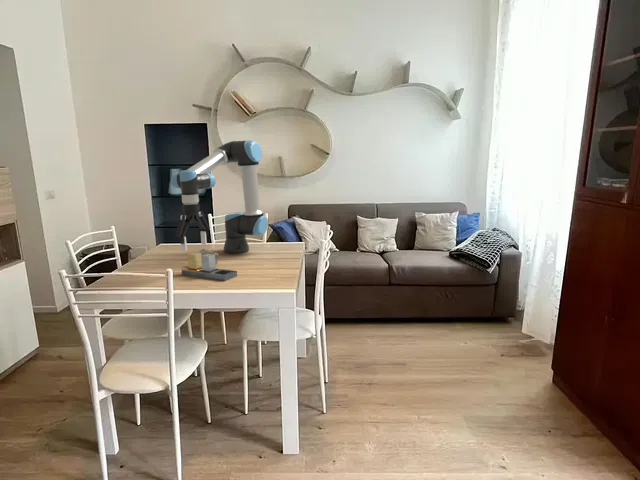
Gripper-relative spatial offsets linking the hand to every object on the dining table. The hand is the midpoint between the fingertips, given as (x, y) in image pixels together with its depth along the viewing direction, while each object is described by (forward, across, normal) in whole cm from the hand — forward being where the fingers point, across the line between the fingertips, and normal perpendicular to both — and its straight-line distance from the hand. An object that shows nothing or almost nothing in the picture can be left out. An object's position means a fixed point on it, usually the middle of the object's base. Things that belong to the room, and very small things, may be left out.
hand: (194, 247), depth 202 cm
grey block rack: (+13, +1, +8) cm, 15 cm away
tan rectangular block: (+13, +1, 0) cm, 13 cm away
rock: (+14, -14, -6) cm, 20 cm away
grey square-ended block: (+13, +1, +8) cm, 16 cm away
